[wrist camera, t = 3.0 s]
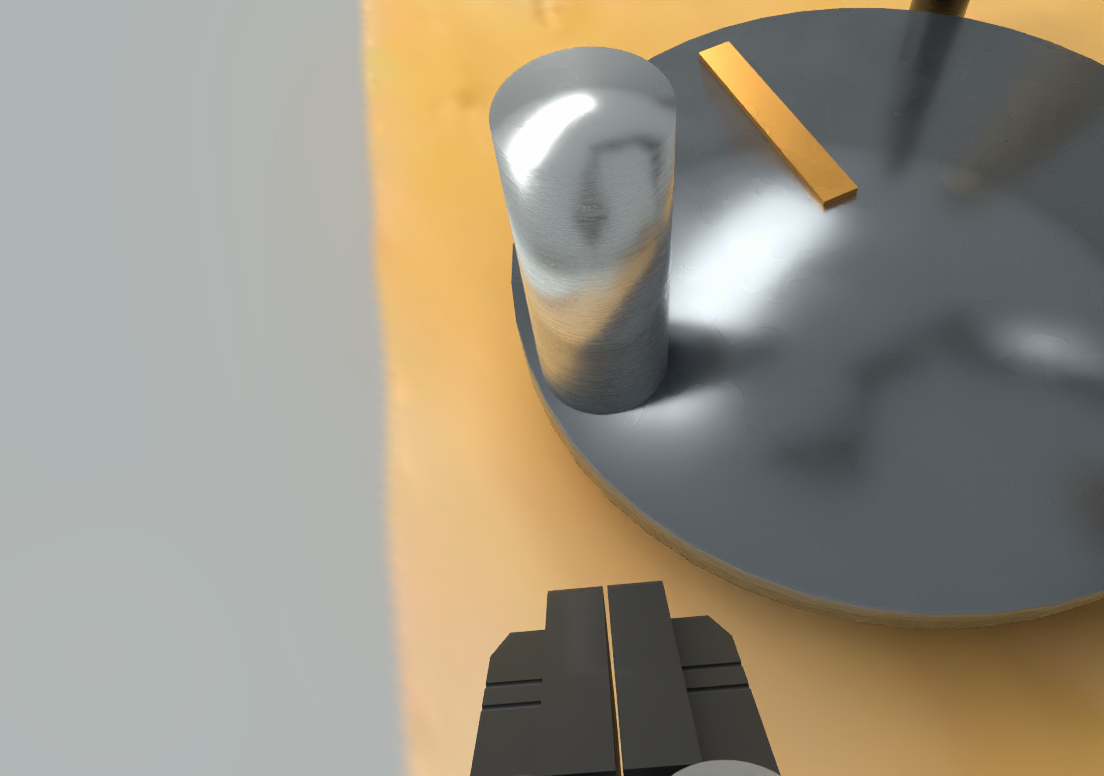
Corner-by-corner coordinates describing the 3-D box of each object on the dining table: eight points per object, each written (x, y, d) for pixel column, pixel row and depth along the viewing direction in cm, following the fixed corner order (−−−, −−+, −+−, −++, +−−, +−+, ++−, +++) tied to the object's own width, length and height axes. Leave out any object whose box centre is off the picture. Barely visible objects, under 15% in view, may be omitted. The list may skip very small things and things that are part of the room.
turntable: (1092, 10, 31) (1271, -343, 22) (1451, 588, 20) (2109, 347, 11) (507, 81, 32) (453, -226, 23) (534, 664, 21) (448, 502, 12)
